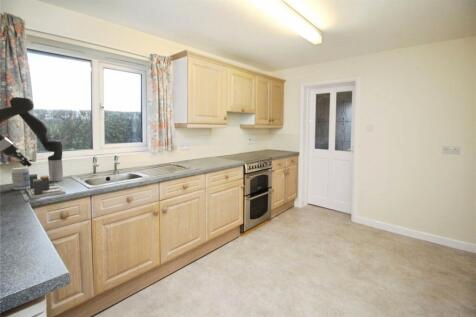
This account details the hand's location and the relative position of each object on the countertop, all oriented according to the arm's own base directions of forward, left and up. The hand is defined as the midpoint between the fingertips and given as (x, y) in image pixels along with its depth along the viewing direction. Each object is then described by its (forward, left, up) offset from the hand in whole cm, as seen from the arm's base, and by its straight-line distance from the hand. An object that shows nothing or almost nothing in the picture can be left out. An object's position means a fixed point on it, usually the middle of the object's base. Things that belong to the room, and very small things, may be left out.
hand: (28, 165), depth 166 cm
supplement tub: (-23, -3, -19) cm, 30 cm away
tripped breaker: (-1, +8, -17) cm, 19 cm away
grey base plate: (-1, +8, -19) cm, 21 cm away
